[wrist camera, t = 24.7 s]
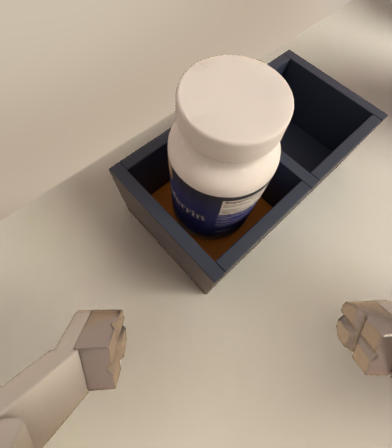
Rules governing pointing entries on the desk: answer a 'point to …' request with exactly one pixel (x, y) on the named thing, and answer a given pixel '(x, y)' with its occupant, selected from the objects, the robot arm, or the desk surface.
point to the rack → (279, 184)
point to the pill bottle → (225, 141)
